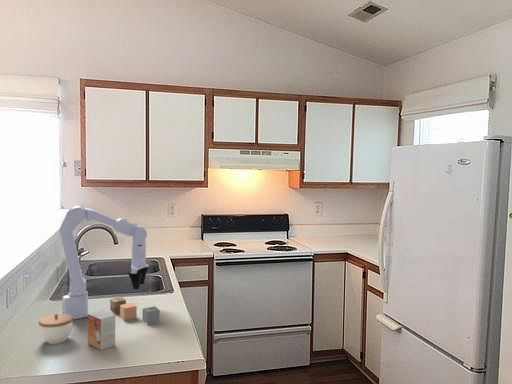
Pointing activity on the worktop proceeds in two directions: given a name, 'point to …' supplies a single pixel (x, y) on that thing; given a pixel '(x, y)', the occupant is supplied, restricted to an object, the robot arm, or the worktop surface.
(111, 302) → the walnut cube
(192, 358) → the worktop surface
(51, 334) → the lidded jar
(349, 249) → the worktop surface
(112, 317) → the small box
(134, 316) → the terracotta cube
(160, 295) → the worktop surface
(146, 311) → the slate cube
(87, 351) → the worktop surface
